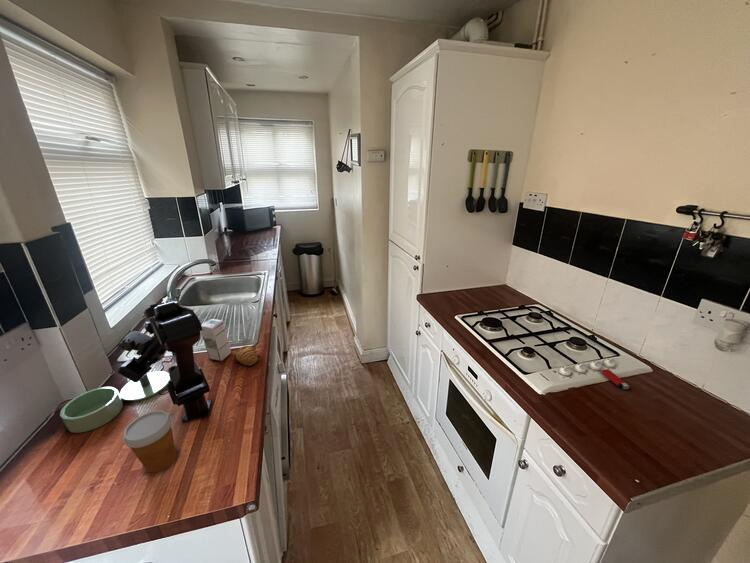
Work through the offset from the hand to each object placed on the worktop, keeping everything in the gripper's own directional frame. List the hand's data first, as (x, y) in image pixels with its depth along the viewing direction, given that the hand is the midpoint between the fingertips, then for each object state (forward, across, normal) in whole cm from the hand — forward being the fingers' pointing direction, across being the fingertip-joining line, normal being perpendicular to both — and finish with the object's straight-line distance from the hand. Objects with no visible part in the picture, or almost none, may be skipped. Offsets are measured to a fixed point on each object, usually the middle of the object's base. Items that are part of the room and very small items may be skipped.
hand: (136, 371), depth 98 cm
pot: (+9, +11, 0) cm, 14 cm away
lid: (+3, 0, +5) cm, 6 cm away
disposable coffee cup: (-12, +27, +21) cm, 36 cm away
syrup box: (-8, -16, +17) cm, 25 cm away
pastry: (-16, -14, +26) cm, 33 cm away
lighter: (-104, +4, +114) cm, 154 cm away
